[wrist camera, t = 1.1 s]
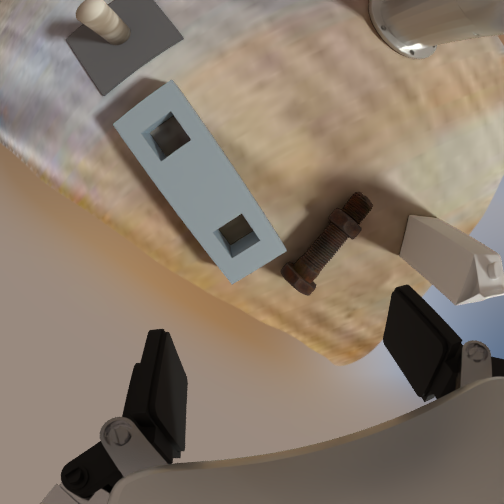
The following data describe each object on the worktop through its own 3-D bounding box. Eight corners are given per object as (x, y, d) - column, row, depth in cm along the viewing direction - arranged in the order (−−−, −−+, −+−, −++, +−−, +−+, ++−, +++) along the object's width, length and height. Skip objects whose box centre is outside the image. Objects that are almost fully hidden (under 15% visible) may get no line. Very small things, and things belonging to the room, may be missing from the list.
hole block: (123, 124, 29) (112, 124, 26) (176, 85, 28) (171, 79, 25) (230, 269, 39) (232, 284, 35) (280, 238, 38) (287, 250, 34)
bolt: (355, 195, 39) (291, 273, 42) (343, 178, 35) (272, 265, 38) (385, 216, 35) (315, 299, 39) (376, 201, 31) (298, 294, 35)
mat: (140, -15, 21) (139, -16, 21) (184, 38, 26) (183, 37, 25) (67, 39, 23) (65, 39, 22) (104, 96, 27) (103, 95, 27)
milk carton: (427, 256, 43) (500, 315, 25) (398, 255, 42) (473, 323, 24) (437, 217, 40) (520, 267, 23) (408, 214, 39) (496, 269, 22)
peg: (124, 21, 23) (96, -9, 14) (134, 35, 24) (107, 6, 15) (105, 35, 23) (71, 11, 14) (115, 49, 25) (82, 26, 16)
